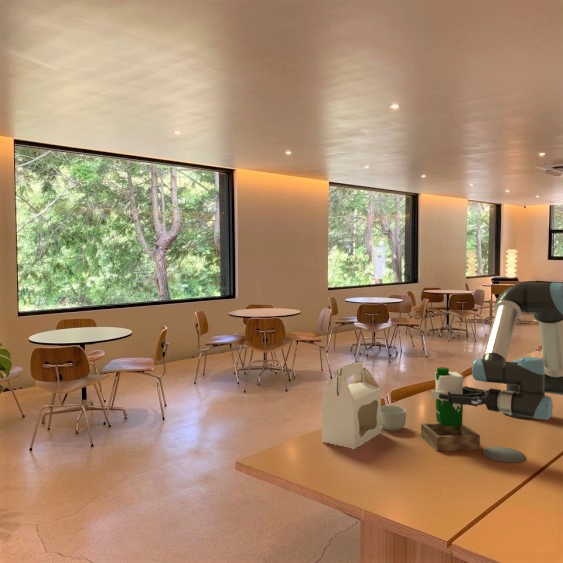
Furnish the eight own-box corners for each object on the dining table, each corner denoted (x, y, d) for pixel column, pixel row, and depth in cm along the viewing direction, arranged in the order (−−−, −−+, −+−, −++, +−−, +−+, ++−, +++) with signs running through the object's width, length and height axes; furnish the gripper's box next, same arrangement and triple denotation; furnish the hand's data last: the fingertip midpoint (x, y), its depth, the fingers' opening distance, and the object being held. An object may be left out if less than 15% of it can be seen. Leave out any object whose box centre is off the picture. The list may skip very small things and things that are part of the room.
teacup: (407, 425, 208) (407, 406, 208) (404, 434, 198) (404, 413, 197) (372, 422, 213) (372, 403, 212) (368, 431, 202) (368, 410, 202)
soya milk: (433, 419, 192) (432, 366, 191) (458, 419, 192) (457, 365, 191) (440, 427, 183) (439, 371, 182) (466, 426, 183) (465, 370, 182)
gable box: (351, 427, 208) (350, 357, 207) (381, 433, 200) (381, 360, 199) (321, 442, 190) (321, 366, 189) (354, 450, 182) (353, 371, 181)
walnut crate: (460, 435, 196) (460, 422, 196) (479, 449, 181) (479, 435, 181) (421, 436, 195) (421, 423, 195) (437, 451, 179) (437, 437, 179)
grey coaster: (511, 447, 182) (511, 446, 182) (533, 461, 169) (533, 460, 169) (476, 449, 181) (476, 447, 181) (494, 463, 168) (494, 461, 168)
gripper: (490, 420, 167) (424, 408, 182) (510, 404, 184) (448, 394, 198) (490, 397, 167) (424, 387, 181) (510, 383, 183) (448, 375, 198)
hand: (437, 391), depth 190 cm, fingers closed on soya milk, 9 cm apart
